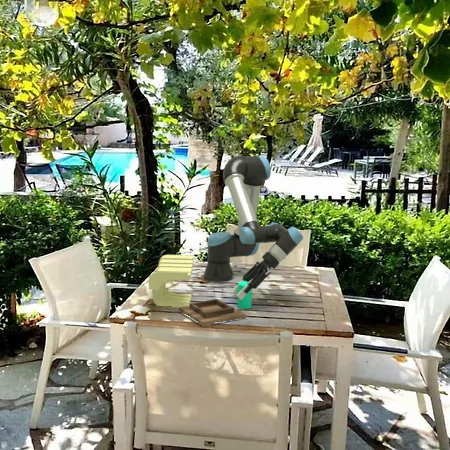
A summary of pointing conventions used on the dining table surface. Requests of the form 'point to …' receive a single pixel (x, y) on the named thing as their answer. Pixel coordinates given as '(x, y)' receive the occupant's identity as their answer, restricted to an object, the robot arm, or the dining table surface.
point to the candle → (247, 300)
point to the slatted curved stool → (167, 272)
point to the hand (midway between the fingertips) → (236, 295)
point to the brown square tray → (211, 312)
